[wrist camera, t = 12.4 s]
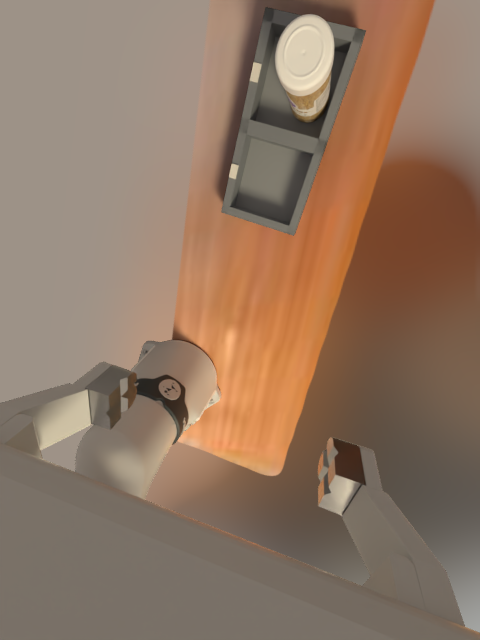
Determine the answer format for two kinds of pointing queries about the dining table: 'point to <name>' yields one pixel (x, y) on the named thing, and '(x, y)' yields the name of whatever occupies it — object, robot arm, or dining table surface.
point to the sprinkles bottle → (306, 65)
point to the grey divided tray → (282, 133)
